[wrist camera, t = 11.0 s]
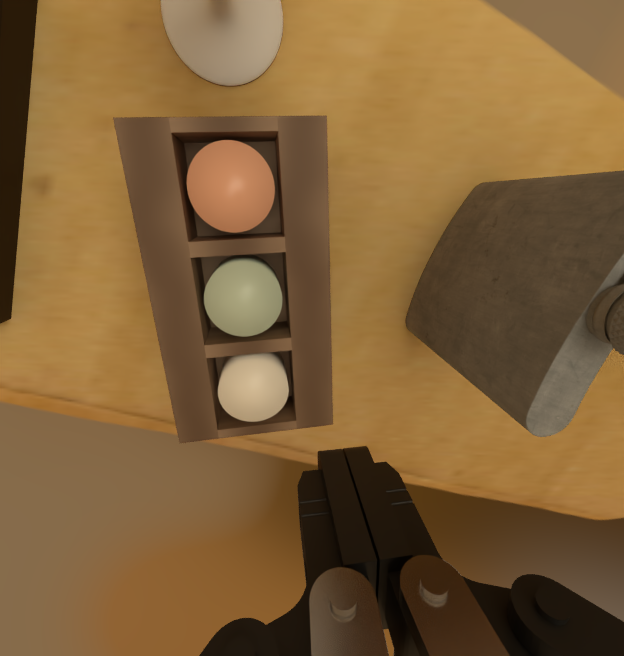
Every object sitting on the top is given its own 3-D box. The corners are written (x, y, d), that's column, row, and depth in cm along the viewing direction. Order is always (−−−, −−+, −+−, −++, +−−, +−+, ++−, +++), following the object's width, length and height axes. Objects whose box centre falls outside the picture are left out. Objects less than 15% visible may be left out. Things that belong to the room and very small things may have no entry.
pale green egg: (276, 251, 24) (279, 259, 21) (281, 316, 26) (284, 333, 23) (206, 255, 24) (198, 264, 21) (215, 322, 26) (209, 339, 22)
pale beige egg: (282, 337, 27) (286, 356, 23) (286, 392, 28) (290, 417, 25) (218, 343, 26) (213, 363, 23) (226, 399, 28) (222, 425, 24)
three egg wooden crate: (302, 145, 29) (326, 115, 19) (311, 361, 36) (332, 424, 26) (165, 148, 28) (113, 117, 18) (202, 372, 35) (179, 443, 25)
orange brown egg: (269, 148, 22) (271, 139, 19) (274, 226, 24) (277, 230, 21) (191, 149, 22) (179, 140, 18) (202, 230, 23) (194, 234, 20)
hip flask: (425, 337, 37) (593, 472, 19) (393, 325, 36) (537, 455, 18) (505, 191, 33) (822, 177, 15) (471, 172, 32) (767, 131, 14)
